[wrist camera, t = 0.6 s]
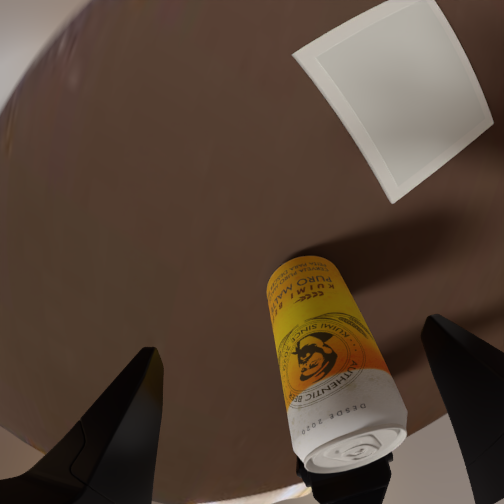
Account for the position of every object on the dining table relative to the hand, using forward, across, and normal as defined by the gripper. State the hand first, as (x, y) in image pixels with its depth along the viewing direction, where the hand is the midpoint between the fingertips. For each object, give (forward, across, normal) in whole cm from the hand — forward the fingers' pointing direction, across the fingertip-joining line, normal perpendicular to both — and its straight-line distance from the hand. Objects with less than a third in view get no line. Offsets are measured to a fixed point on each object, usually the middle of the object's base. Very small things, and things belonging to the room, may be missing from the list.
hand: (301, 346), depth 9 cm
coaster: (+14, -12, -8) cm, 20 cm away
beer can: (+14, -3, +7) cm, 16 cm away
